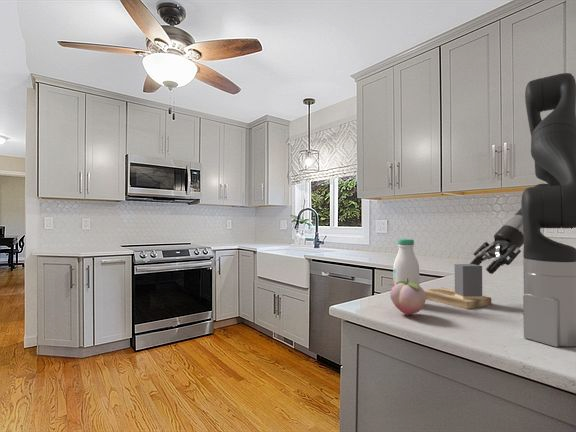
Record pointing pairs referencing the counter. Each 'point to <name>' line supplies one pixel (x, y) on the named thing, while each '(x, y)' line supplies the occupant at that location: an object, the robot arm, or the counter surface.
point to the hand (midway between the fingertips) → (479, 269)
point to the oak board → (455, 298)
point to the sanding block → (468, 281)
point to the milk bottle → (406, 263)
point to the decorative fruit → (408, 297)
